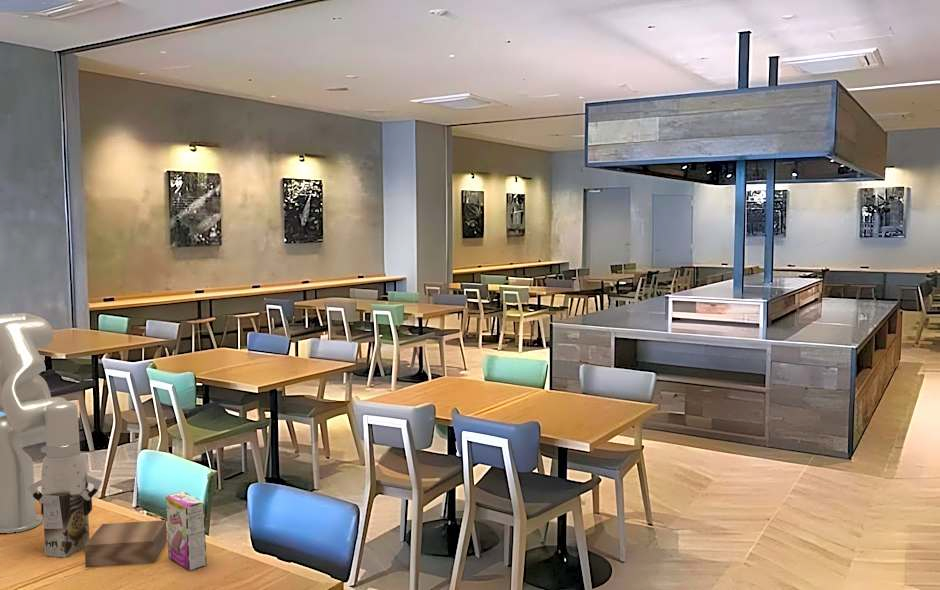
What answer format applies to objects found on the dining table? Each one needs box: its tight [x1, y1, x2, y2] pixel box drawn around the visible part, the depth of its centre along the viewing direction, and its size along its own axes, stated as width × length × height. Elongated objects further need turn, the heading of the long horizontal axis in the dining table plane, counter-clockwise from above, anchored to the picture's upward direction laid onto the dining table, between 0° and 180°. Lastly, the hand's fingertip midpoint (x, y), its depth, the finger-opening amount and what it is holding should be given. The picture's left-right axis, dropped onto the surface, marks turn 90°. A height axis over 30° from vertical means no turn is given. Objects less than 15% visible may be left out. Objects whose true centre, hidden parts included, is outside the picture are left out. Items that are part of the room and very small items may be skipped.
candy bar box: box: [165, 491, 207, 572], centre depth 191 cm, size 11×5×16 cm, turn 47°
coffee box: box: [43, 493, 90, 558], centre depth 199 cm, size 9×6×16 cm
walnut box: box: [84, 519, 168, 568], centre depth 197 cm, size 16×14×6 cm
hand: (67, 515), depth 198 cm, fingers open, 9 cm apart
